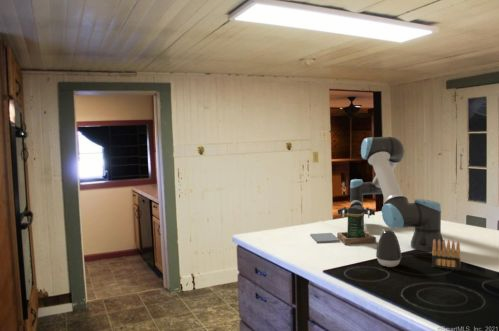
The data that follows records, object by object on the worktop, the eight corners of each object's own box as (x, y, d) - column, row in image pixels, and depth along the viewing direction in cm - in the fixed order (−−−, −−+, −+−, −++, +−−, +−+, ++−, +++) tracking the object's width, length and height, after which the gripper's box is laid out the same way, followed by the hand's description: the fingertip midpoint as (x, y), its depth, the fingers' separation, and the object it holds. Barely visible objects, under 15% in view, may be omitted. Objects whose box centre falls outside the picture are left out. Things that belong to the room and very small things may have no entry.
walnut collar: (375, 243, 211) (375, 237, 210) (345, 244, 209) (345, 239, 209) (366, 236, 225) (366, 231, 224) (337, 238, 223) (337, 232, 223)
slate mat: (339, 241, 215) (339, 240, 215) (317, 243, 214) (317, 241, 214) (331, 234, 231) (331, 232, 231) (310, 235, 230) (310, 233, 230)
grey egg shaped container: (395, 260, 182) (395, 226, 180) (405, 268, 171) (405, 232, 170) (372, 261, 181) (372, 227, 180) (381, 269, 171) (380, 233, 170)
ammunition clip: (460, 269, 168) (460, 240, 167) (460, 270, 166) (460, 241, 165) (432, 266, 173) (432, 238, 173) (431, 267, 172) (431, 239, 171)
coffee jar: (360, 243, 211) (359, 207, 209) (345, 241, 215) (344, 206, 214) (366, 239, 219) (366, 204, 217) (352, 237, 223) (351, 203, 222)
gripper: (378, 214, 243) (379, 222, 223) (335, 213, 250) (332, 221, 229) (378, 201, 242) (379, 208, 222) (335, 201, 249) (332, 207, 229)
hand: (355, 215), depth 226 cm, fingers open, 13 cm apart
